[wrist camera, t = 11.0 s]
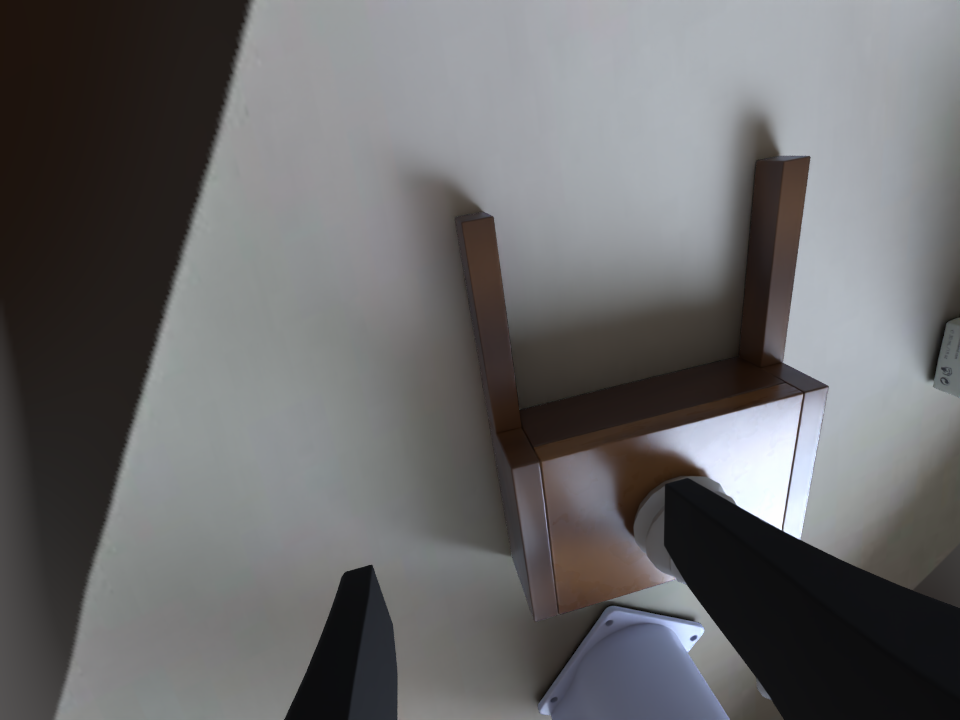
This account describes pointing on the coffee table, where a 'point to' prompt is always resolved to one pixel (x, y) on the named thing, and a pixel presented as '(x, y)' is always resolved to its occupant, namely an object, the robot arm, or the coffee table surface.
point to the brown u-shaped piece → (649, 422)
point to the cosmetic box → (949, 360)
